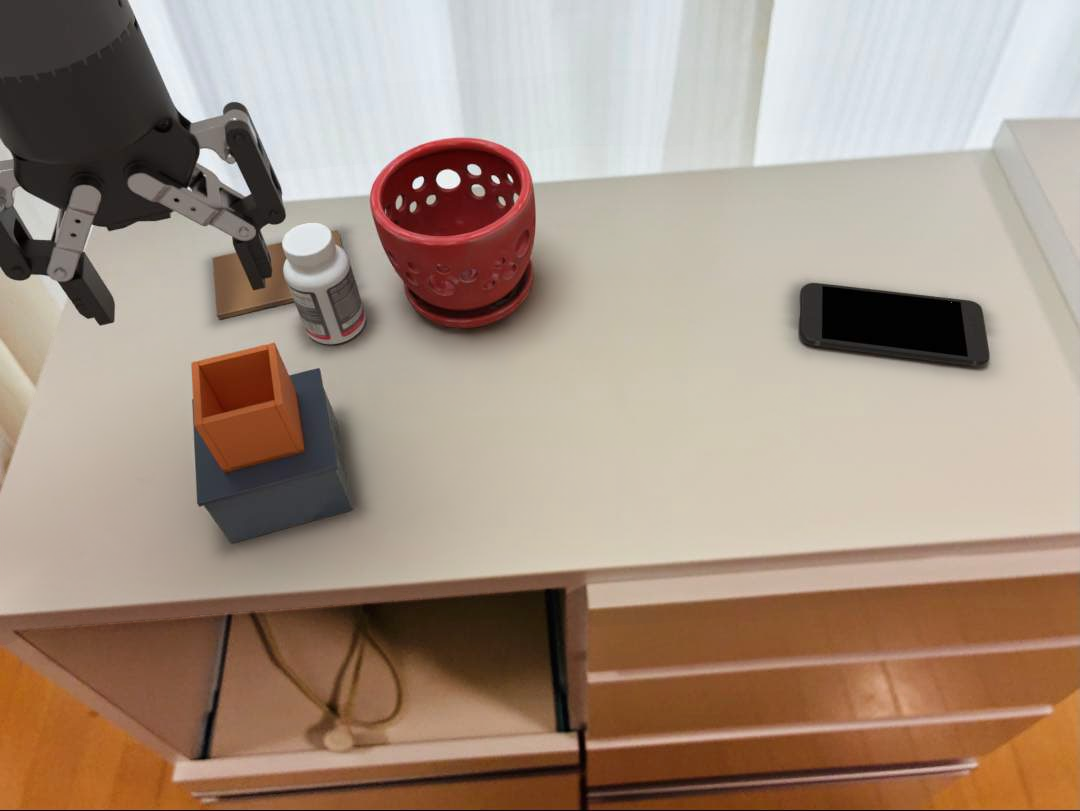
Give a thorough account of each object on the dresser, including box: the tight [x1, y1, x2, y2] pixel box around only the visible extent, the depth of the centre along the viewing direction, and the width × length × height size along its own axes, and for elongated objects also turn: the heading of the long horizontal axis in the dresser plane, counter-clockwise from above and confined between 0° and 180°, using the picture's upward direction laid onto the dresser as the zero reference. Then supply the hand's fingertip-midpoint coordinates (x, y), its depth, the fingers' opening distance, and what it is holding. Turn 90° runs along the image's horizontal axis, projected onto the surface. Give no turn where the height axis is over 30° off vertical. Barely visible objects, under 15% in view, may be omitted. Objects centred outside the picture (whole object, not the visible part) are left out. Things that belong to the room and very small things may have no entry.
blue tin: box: [191, 367, 354, 544], centre depth 61 cm, size 9×9×6 cm
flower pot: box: [369, 137, 537, 329], centre depth 70 cm, size 13×13×12 cm
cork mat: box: [211, 229, 343, 320], centre depth 77 cm, size 12×8×1 cm, turn 107°
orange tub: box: [190, 342, 306, 473], centre depth 56 cm, size 6×6×6 cm
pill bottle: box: [281, 222, 367, 345], centre depth 69 cm, size 5×5×10 cm
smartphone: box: [798, 282, 991, 367], centre depth 69 cm, size 7×15×1 cm, turn 78°
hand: (185, 297), depth 48 cm, fingers open, 8 cm apart
